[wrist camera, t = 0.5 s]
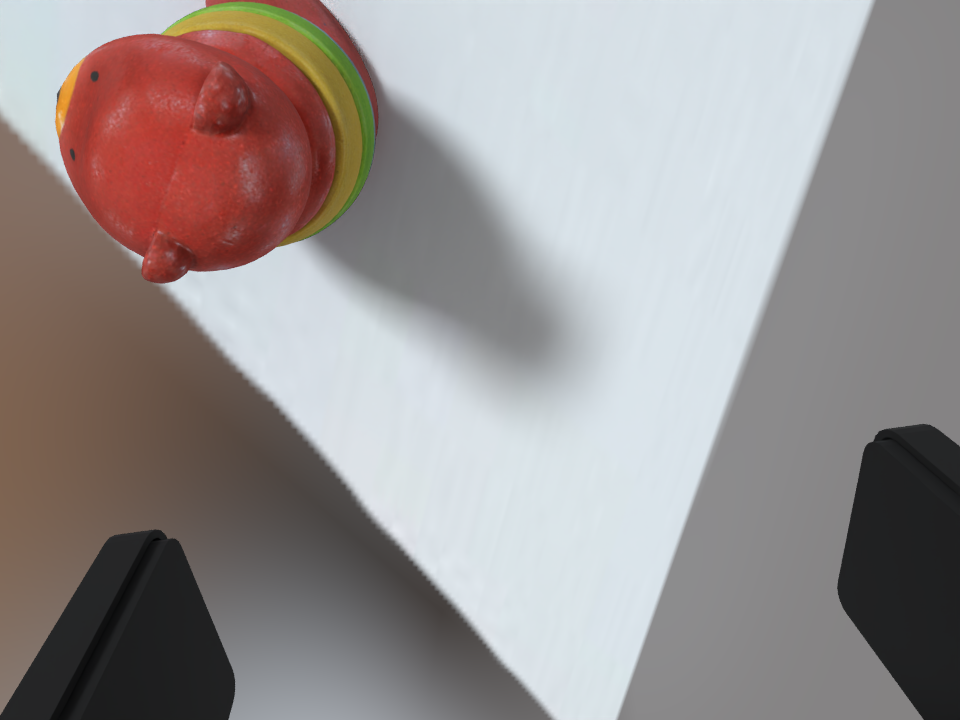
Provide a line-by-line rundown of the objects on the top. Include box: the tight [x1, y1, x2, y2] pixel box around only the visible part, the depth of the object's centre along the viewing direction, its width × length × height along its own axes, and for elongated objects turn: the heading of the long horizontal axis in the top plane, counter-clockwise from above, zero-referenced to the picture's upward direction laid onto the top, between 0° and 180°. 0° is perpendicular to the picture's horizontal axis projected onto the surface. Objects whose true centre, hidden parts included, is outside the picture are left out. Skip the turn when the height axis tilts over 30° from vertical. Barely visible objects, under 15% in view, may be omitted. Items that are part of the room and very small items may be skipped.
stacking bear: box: [55, 0, 378, 283], centre depth 25 cm, size 11×10×18 cm
